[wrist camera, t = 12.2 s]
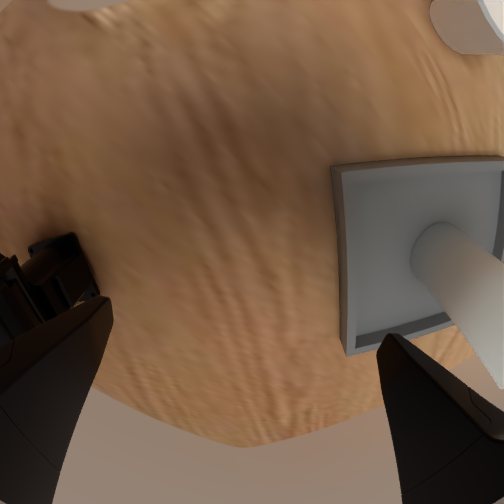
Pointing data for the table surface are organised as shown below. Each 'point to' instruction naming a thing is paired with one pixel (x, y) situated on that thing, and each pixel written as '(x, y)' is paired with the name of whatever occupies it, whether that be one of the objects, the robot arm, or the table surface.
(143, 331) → the table surface
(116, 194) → the table surface
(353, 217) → the tray
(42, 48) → the table surface
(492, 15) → the shot glass
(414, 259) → the candle
